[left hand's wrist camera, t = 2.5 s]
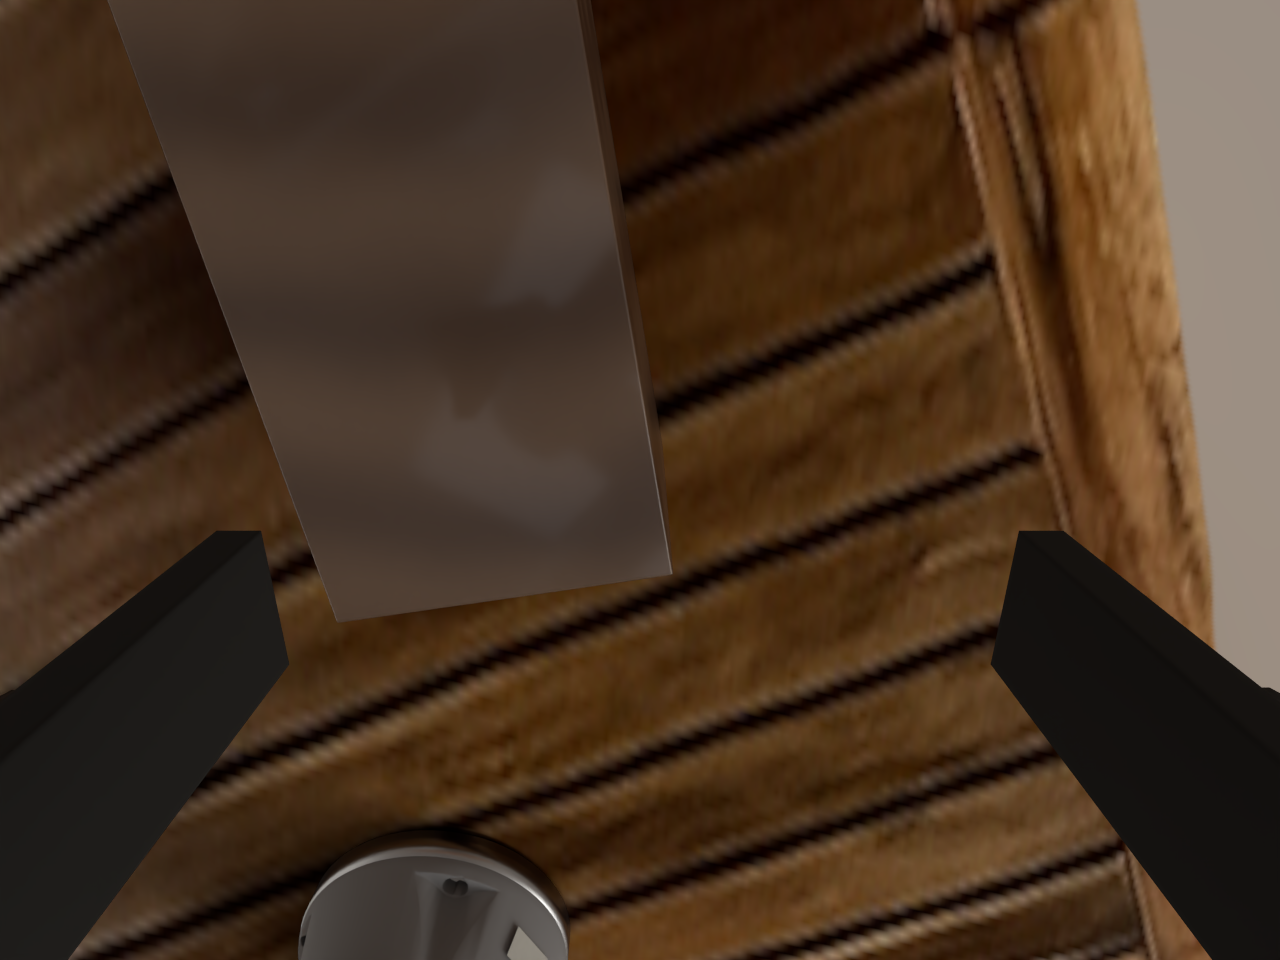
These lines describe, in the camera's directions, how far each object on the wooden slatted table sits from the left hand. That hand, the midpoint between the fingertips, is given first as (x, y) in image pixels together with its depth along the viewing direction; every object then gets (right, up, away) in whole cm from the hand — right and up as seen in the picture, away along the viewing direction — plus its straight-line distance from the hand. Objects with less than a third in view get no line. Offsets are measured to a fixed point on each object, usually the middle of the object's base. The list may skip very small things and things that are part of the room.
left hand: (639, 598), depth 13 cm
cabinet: (-6, +11, +17) cm, 20 cm away
